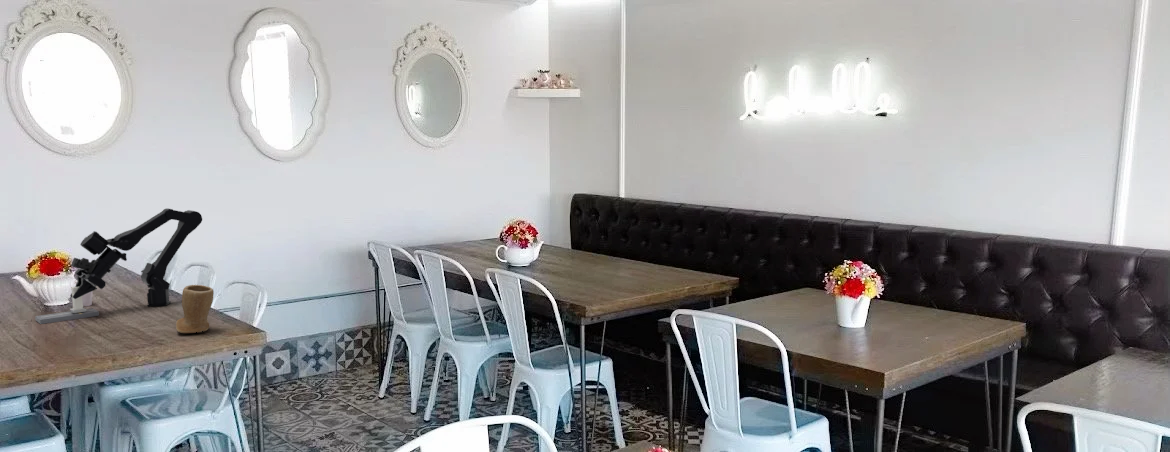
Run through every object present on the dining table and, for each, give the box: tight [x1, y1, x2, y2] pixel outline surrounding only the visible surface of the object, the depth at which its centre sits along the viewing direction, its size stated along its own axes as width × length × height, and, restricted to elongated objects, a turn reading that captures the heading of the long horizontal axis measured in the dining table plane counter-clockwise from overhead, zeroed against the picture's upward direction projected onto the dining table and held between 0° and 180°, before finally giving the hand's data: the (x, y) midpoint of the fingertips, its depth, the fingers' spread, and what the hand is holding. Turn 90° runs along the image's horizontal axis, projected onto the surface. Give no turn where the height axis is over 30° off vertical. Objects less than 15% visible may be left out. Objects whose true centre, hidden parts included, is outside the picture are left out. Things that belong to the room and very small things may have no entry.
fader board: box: [34, 307, 100, 325], centre depth 303 cm, size 18×8×2 cm, turn 133°
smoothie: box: [74, 279, 94, 307], centre depth 324 cm, size 6×6×14 cm
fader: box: [69, 286, 87, 313], centre depth 304 cm, size 4×5×9 cm
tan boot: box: [175, 284, 215, 334], centre depth 281 cm, size 15×12×15 cm
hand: (72, 297), depth 303 cm, fingers closed on fader, 3 cm apart
